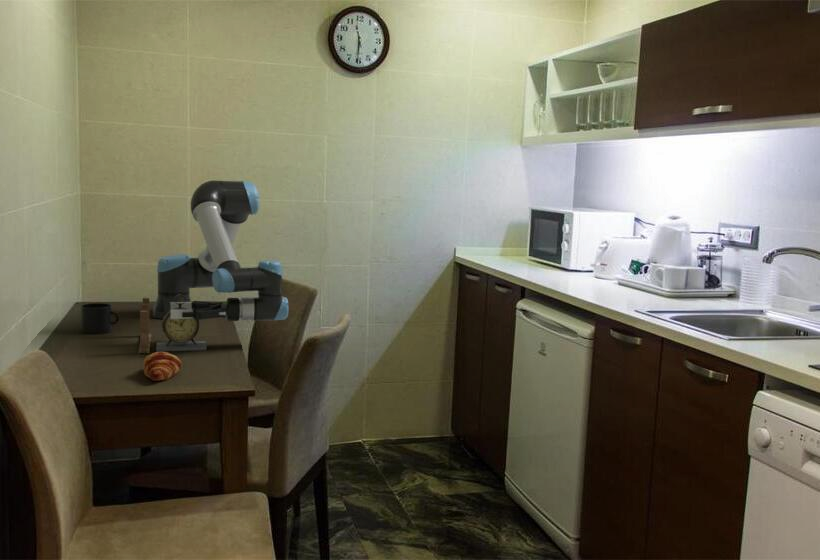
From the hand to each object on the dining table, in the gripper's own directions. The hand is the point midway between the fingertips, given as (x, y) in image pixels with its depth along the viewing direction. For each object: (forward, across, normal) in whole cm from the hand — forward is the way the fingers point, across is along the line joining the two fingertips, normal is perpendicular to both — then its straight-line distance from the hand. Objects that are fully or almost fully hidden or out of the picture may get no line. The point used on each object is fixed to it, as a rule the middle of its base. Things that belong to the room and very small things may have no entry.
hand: (170, 310), depth 237 cm
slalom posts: (+8, +6, -12) cm, 15 cm away
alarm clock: (-3, 0, -11) cm, 12 cm away
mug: (+23, +28, -12) cm, 38 cm away
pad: (-3, 0, -12) cm, 12 cm away
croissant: (+2, -32, -12) cm, 34 cm away
